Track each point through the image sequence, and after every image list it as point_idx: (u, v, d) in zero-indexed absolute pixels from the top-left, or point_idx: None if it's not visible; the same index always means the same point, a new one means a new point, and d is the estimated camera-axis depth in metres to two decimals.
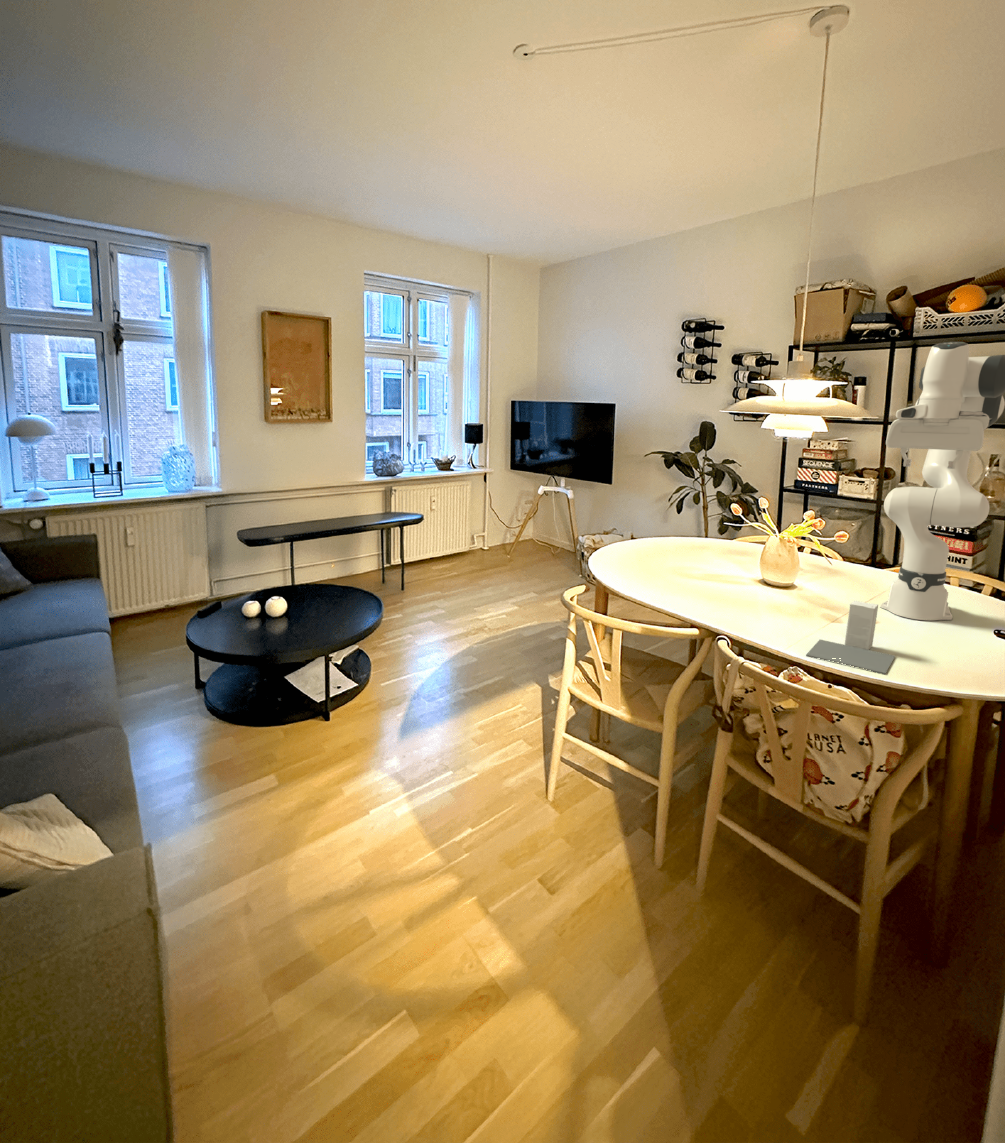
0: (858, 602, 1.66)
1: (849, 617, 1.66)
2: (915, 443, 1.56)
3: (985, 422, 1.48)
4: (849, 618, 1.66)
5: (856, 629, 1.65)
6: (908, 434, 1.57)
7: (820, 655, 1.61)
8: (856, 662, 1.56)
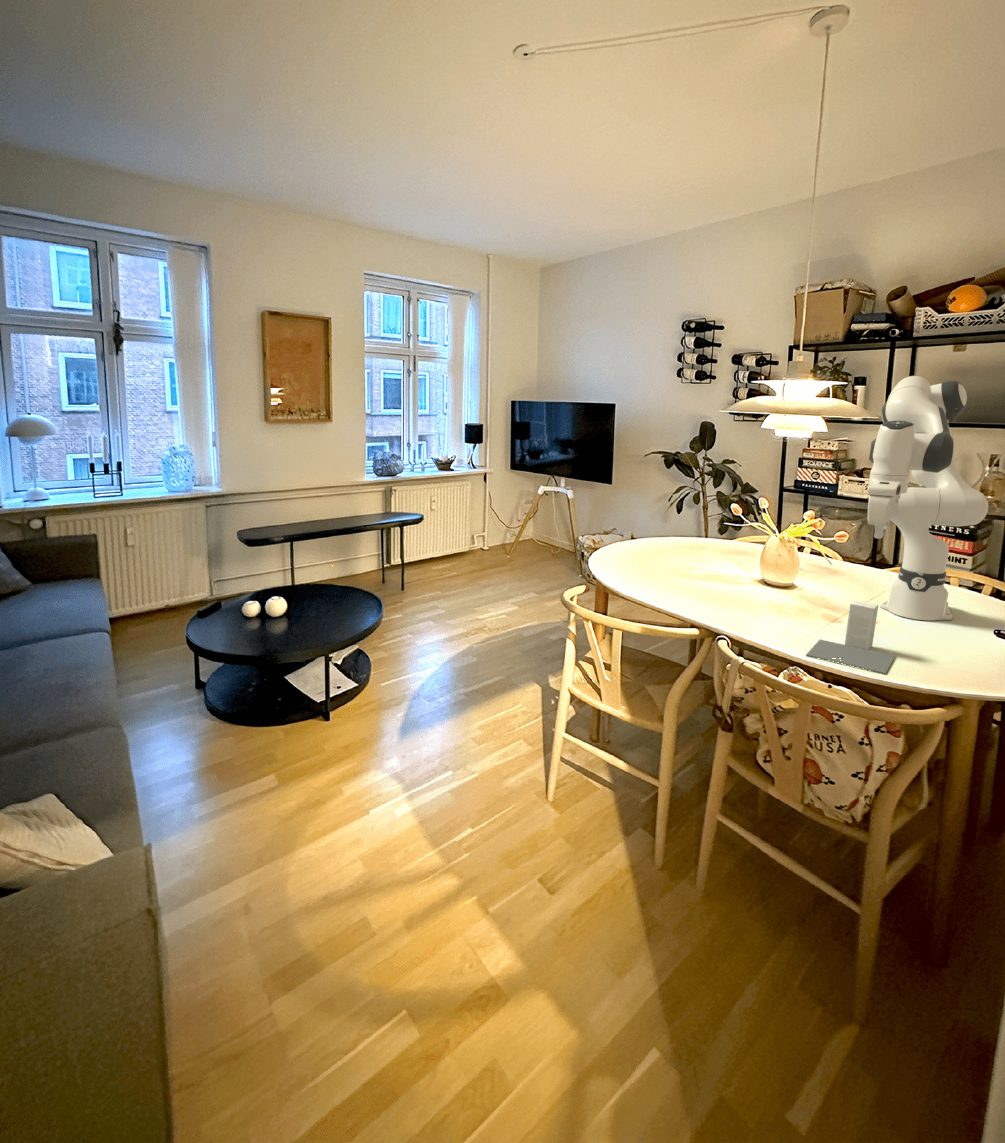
0: (858, 602, 1.66)
1: (849, 617, 1.66)
2: (888, 517, 1.60)
3: None
4: (849, 618, 1.66)
5: (856, 629, 1.65)
6: (888, 510, 1.58)
7: (820, 655, 1.61)
8: (856, 662, 1.56)
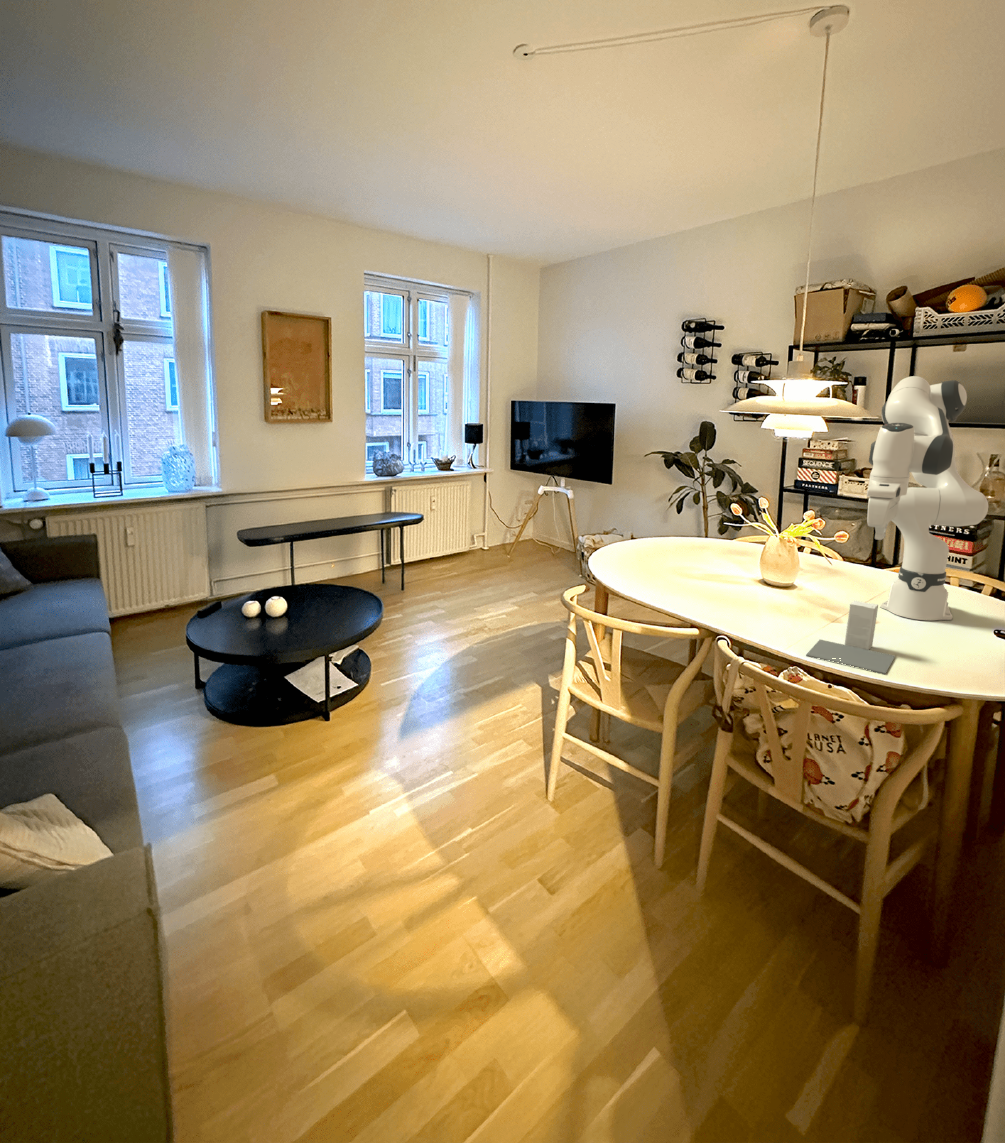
0: (858, 602, 1.66)
1: (849, 617, 1.66)
2: (888, 519, 1.60)
3: None
4: (849, 618, 1.66)
5: (856, 629, 1.65)
6: (888, 512, 1.58)
7: (820, 655, 1.61)
8: (856, 662, 1.56)
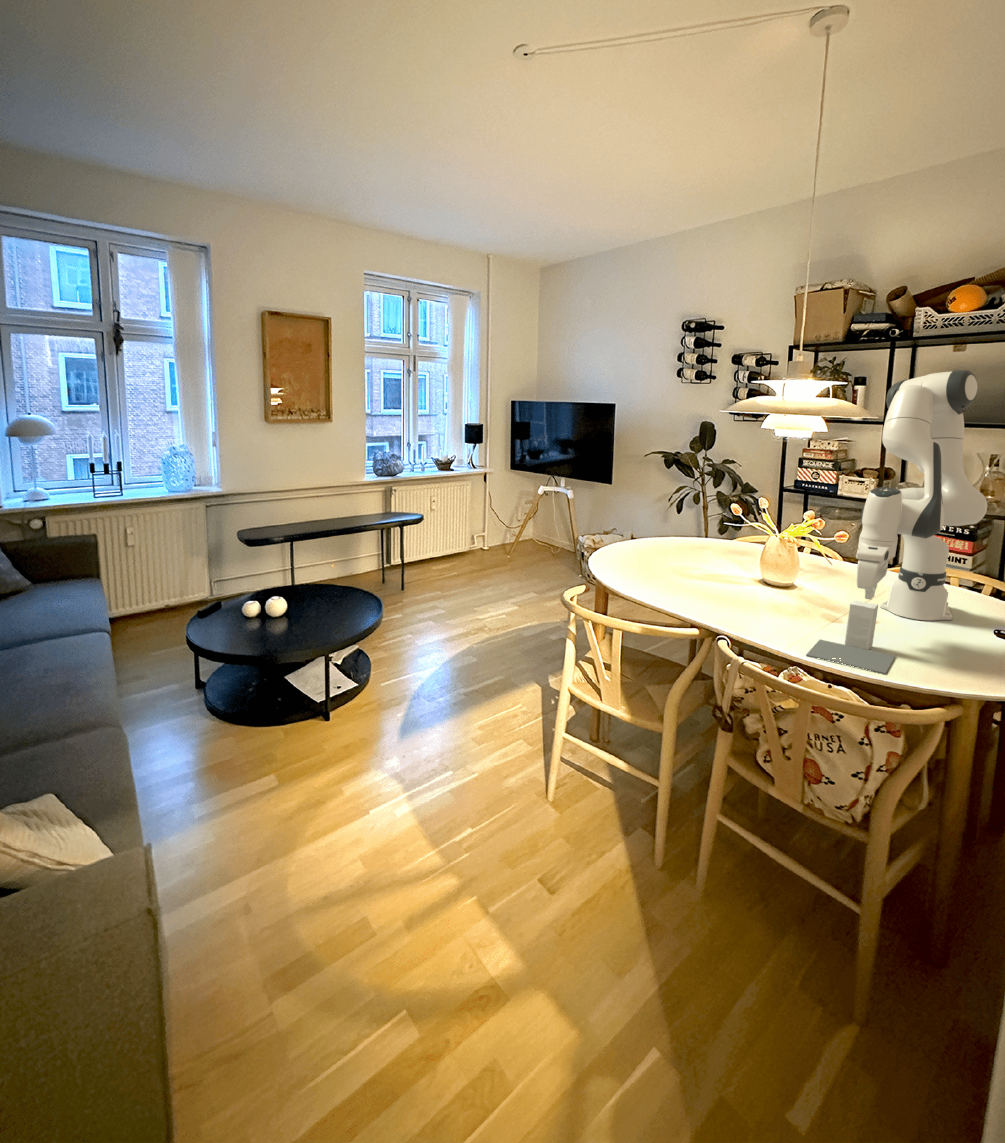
0: (858, 602, 1.66)
1: (849, 617, 1.66)
2: (877, 580, 1.65)
3: None
4: (849, 618, 1.66)
5: (856, 629, 1.65)
6: (876, 574, 1.63)
7: (820, 655, 1.61)
8: (856, 662, 1.56)
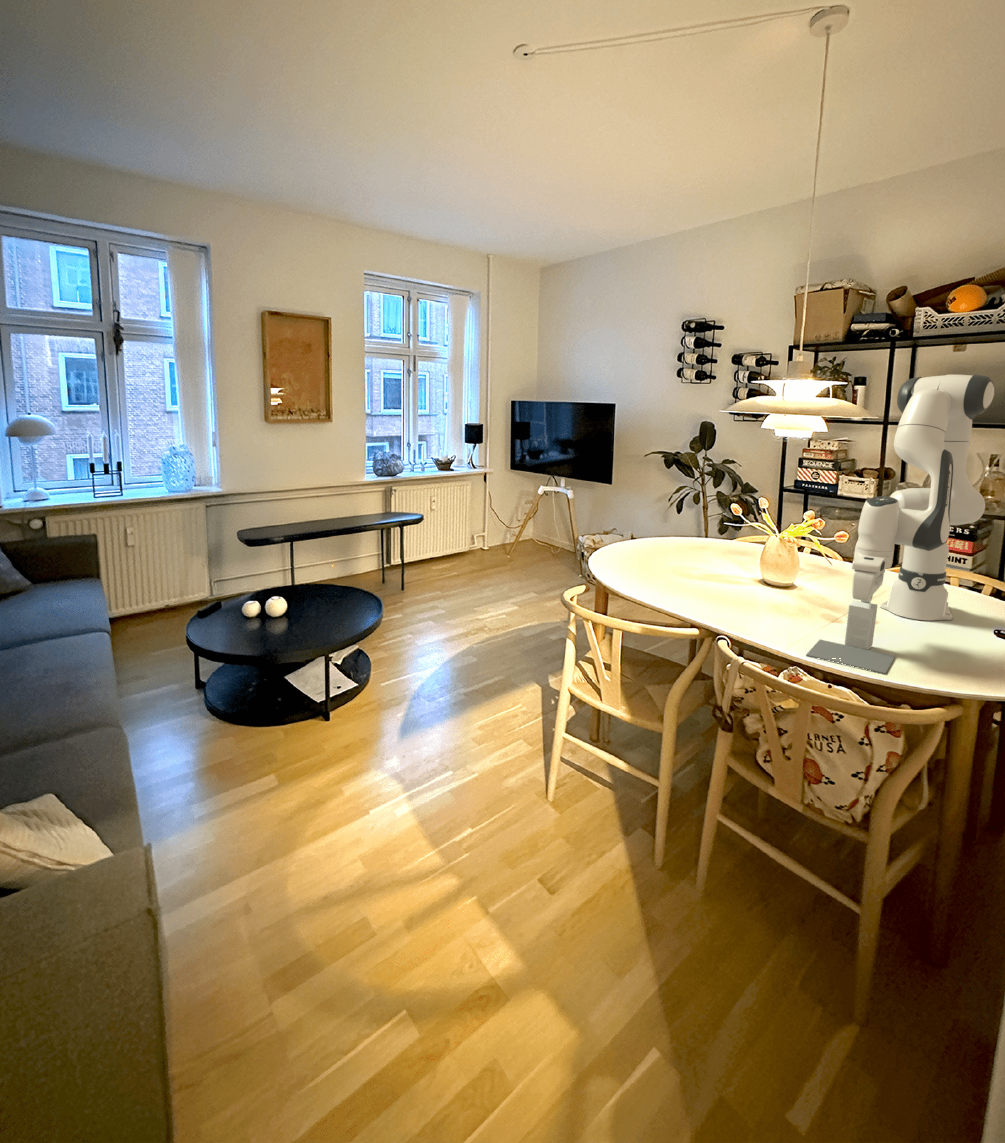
0: (857, 602, 1.66)
1: (848, 618, 1.66)
2: (873, 591, 1.62)
3: None
4: (848, 619, 1.66)
5: (856, 629, 1.65)
6: (872, 584, 1.60)
7: (820, 655, 1.61)
8: (856, 662, 1.56)
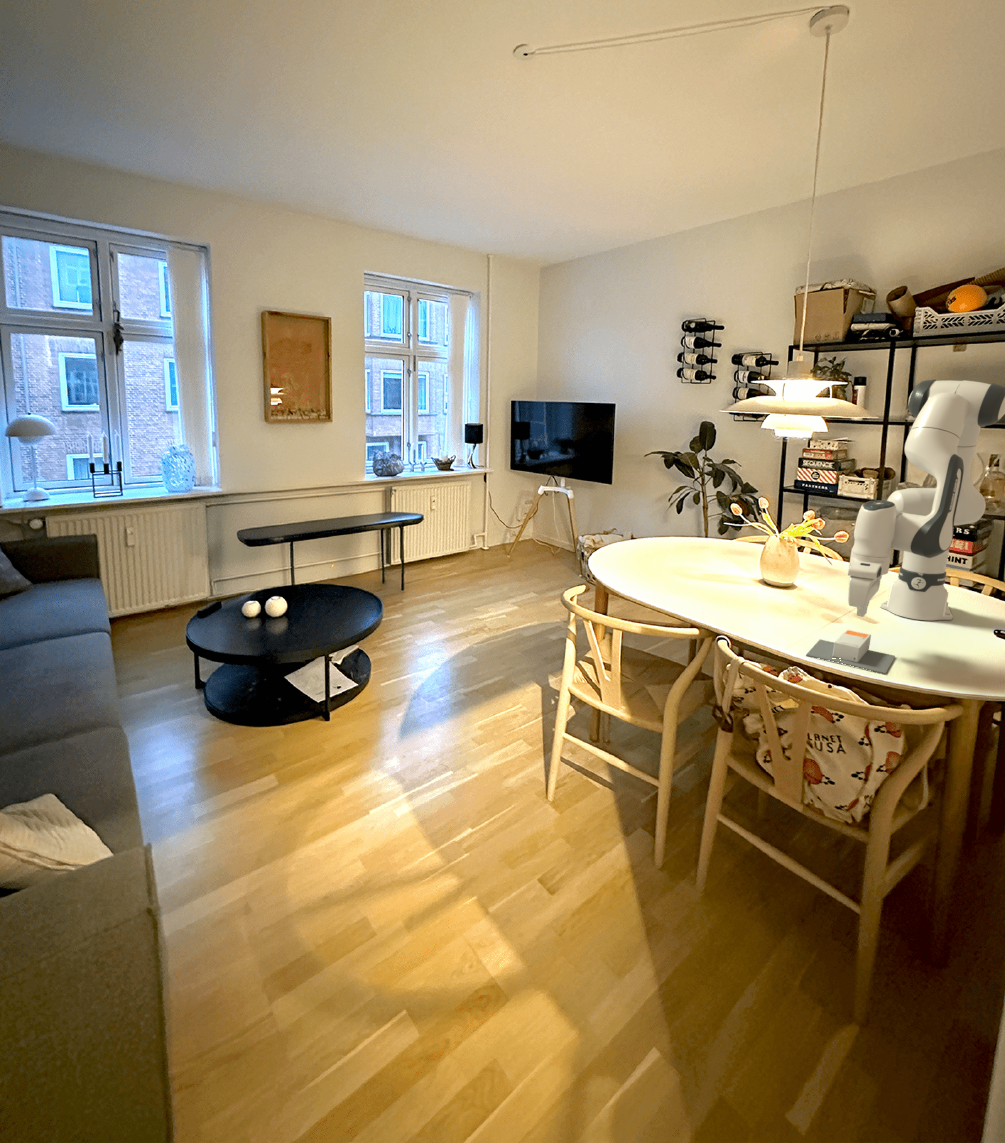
0: (839, 648, 1.58)
1: None
2: (869, 598, 1.58)
3: None
4: None
5: None
6: (869, 591, 1.56)
7: (820, 655, 1.61)
8: (856, 662, 1.56)
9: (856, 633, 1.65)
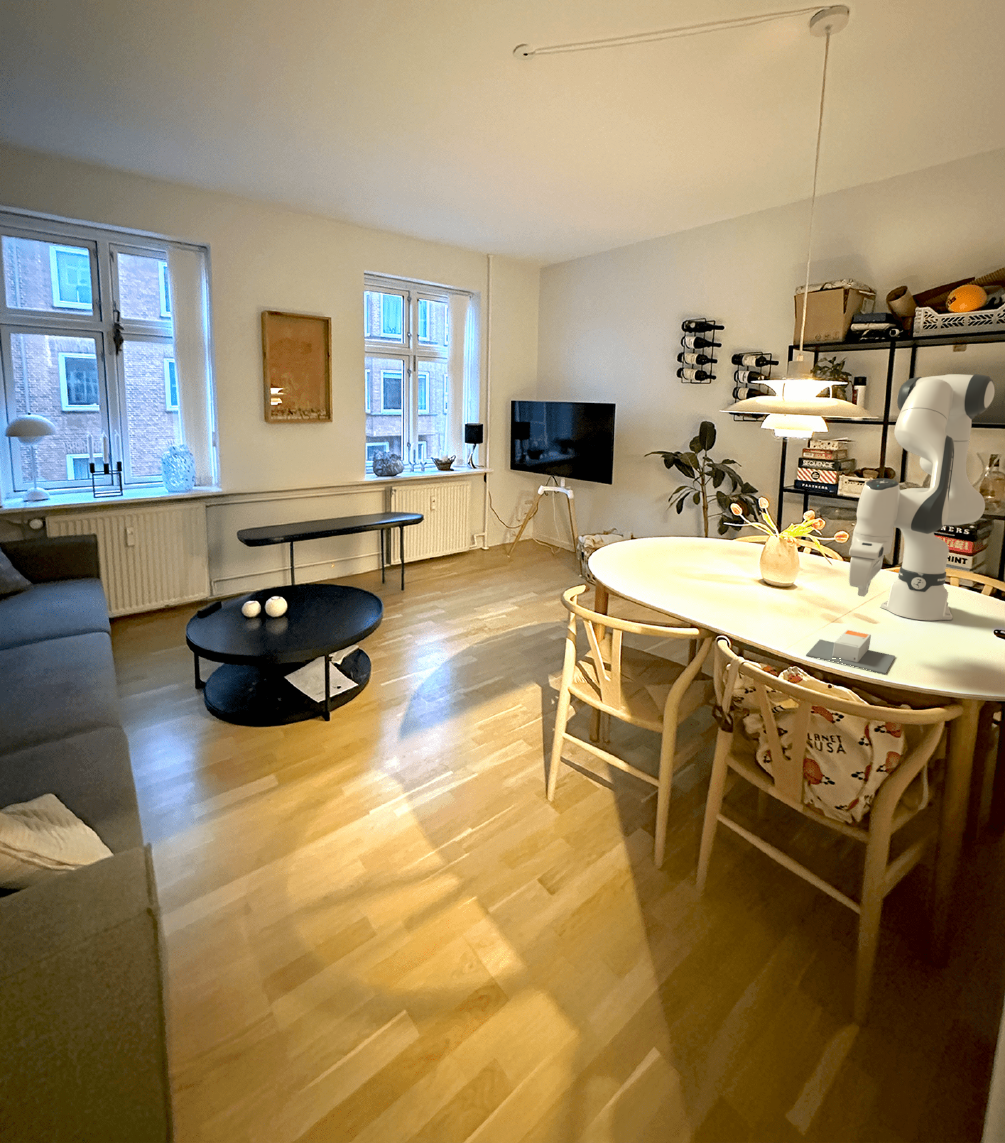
0: (839, 648, 1.58)
1: None
2: (871, 577, 1.56)
3: None
4: None
5: None
6: (870, 571, 1.54)
7: (820, 655, 1.61)
8: (856, 662, 1.56)
9: (856, 633, 1.65)
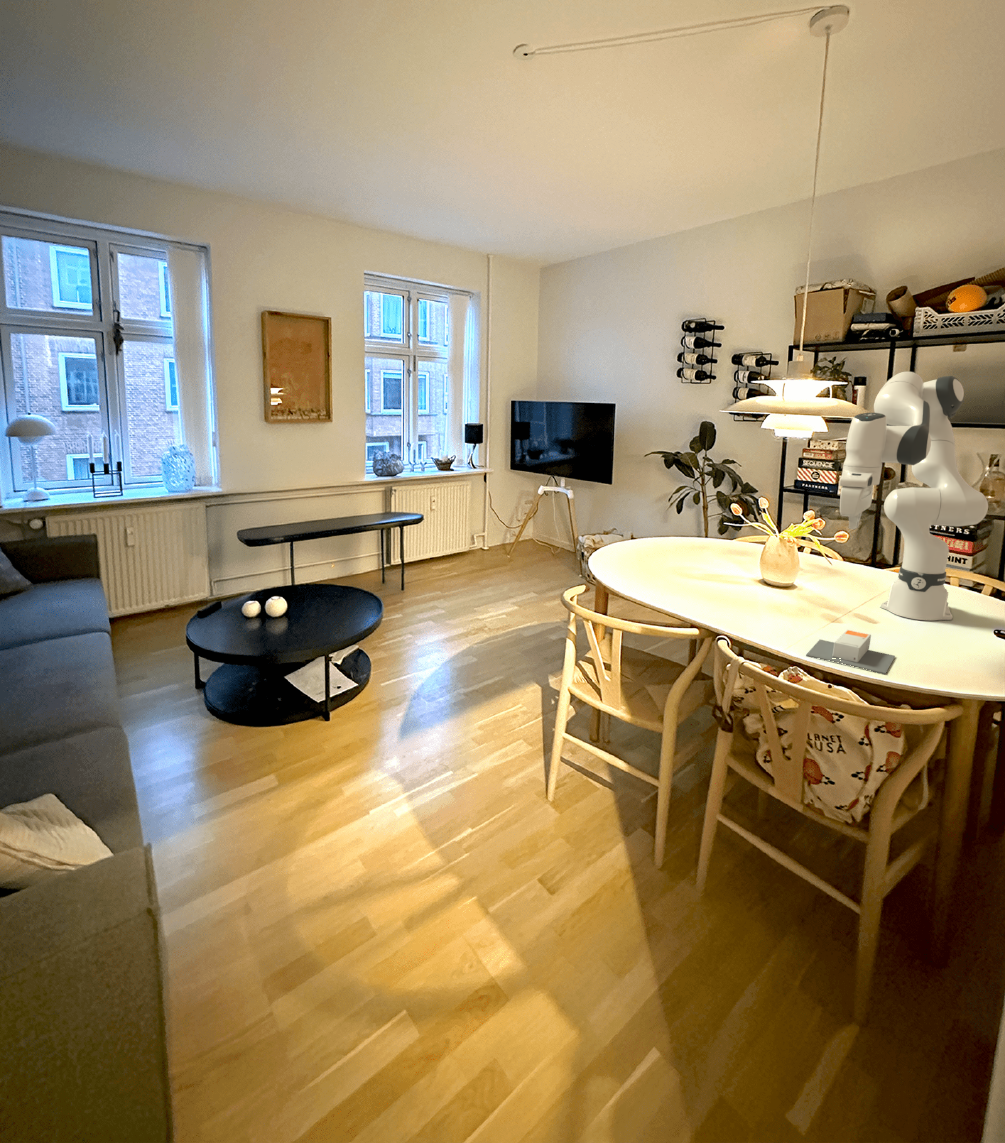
0: (839, 648, 1.58)
1: None
2: (861, 509, 1.61)
3: None
4: None
5: None
6: (860, 501, 1.59)
7: (820, 655, 1.61)
8: (856, 662, 1.56)
9: (856, 633, 1.65)
